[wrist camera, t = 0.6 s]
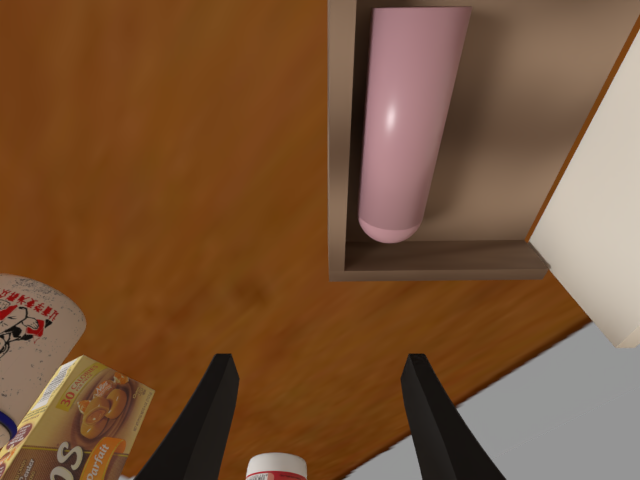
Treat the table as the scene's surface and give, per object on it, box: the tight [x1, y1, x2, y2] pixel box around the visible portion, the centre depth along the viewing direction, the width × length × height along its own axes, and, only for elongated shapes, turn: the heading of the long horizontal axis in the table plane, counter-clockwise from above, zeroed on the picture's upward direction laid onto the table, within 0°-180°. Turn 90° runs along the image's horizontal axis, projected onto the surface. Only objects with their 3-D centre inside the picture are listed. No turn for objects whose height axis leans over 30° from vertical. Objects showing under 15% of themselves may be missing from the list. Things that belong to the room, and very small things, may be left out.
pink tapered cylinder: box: [357, 6, 472, 243], centre depth 13 cm, size 10×3×3 cm, turn 1°
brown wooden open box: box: [328, 0, 640, 282], centre depth 14 cm, size 16×12×4 cm
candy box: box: [0, 355, 155, 480], centre depth 26 cm, size 9×4×15 cm, turn 32°
